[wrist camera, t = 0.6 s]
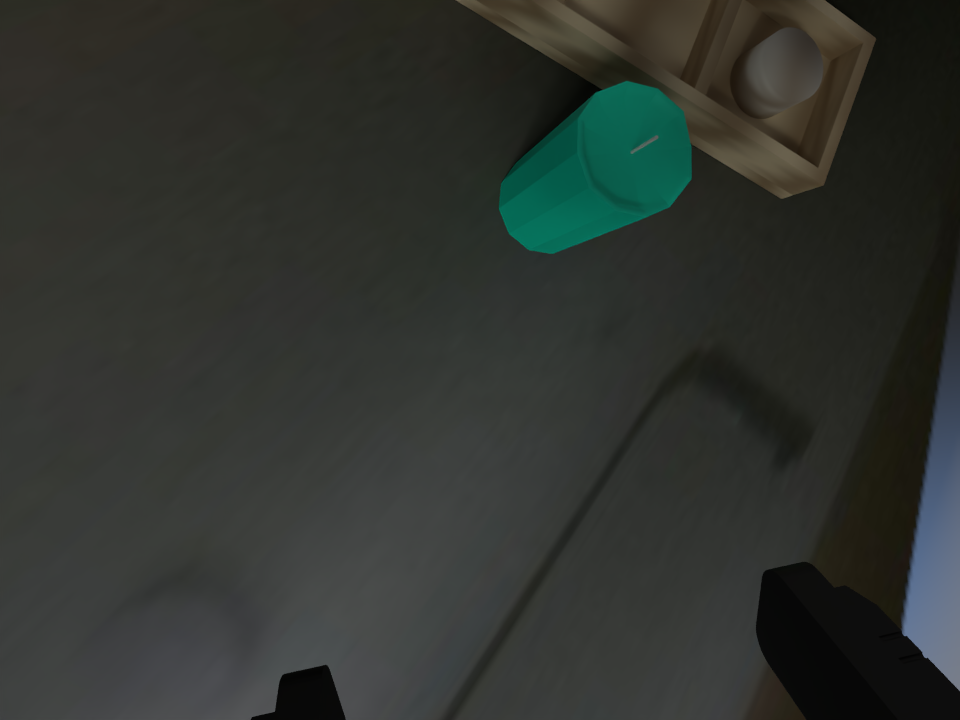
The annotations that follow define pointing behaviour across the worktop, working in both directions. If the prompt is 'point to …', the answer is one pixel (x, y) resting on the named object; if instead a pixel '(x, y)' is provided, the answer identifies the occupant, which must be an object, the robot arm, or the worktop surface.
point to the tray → (716, 70)
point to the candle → (599, 169)
